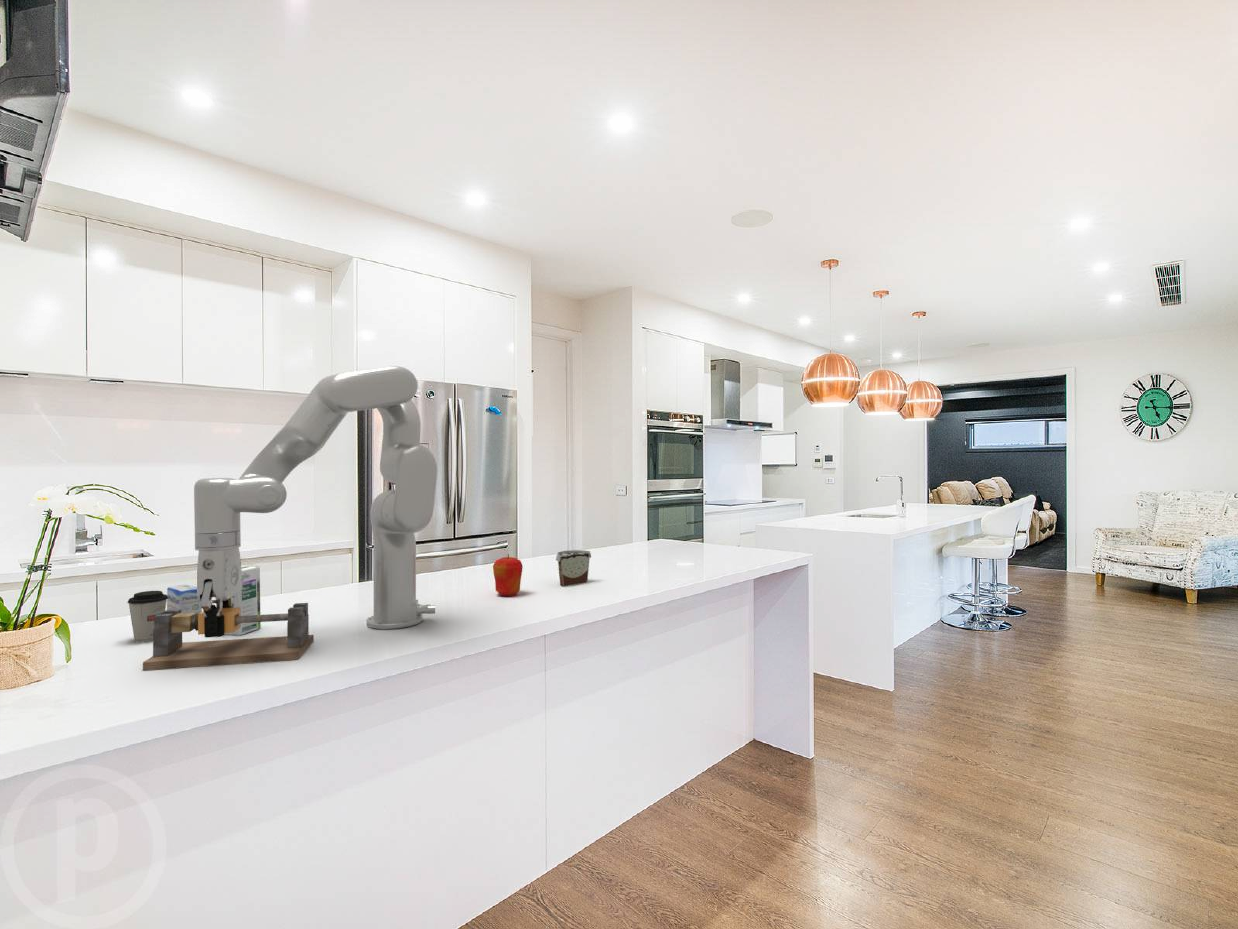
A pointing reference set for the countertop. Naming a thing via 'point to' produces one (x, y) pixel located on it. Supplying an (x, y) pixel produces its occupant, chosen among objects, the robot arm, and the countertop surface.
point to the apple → (507, 575)
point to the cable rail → (226, 641)
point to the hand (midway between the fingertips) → (219, 632)
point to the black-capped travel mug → (146, 613)
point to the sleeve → (228, 620)
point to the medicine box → (183, 599)
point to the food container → (573, 567)
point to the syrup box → (248, 598)
